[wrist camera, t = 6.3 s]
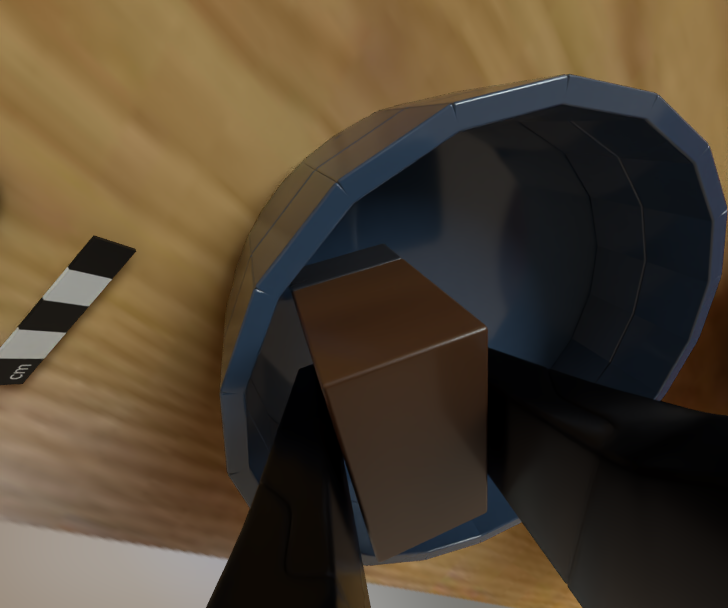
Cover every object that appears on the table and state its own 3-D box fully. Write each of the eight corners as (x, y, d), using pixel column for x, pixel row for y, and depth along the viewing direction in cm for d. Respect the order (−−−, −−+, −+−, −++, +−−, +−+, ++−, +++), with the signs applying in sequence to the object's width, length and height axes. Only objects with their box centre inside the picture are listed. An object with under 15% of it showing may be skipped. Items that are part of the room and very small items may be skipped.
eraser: (406, 385, 11) (489, 513, 8) (330, 414, 11) (378, 565, 7) (384, 241, 9) (490, 326, 5) (284, 270, 8) (320, 387, 5)
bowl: (365, 503, 18) (400, 608, 14) (110, 287, 10) (24, 393, 6) (609, 336, 18) (711, 393, 14) (555, -15, 10) (758, -106, 6)
